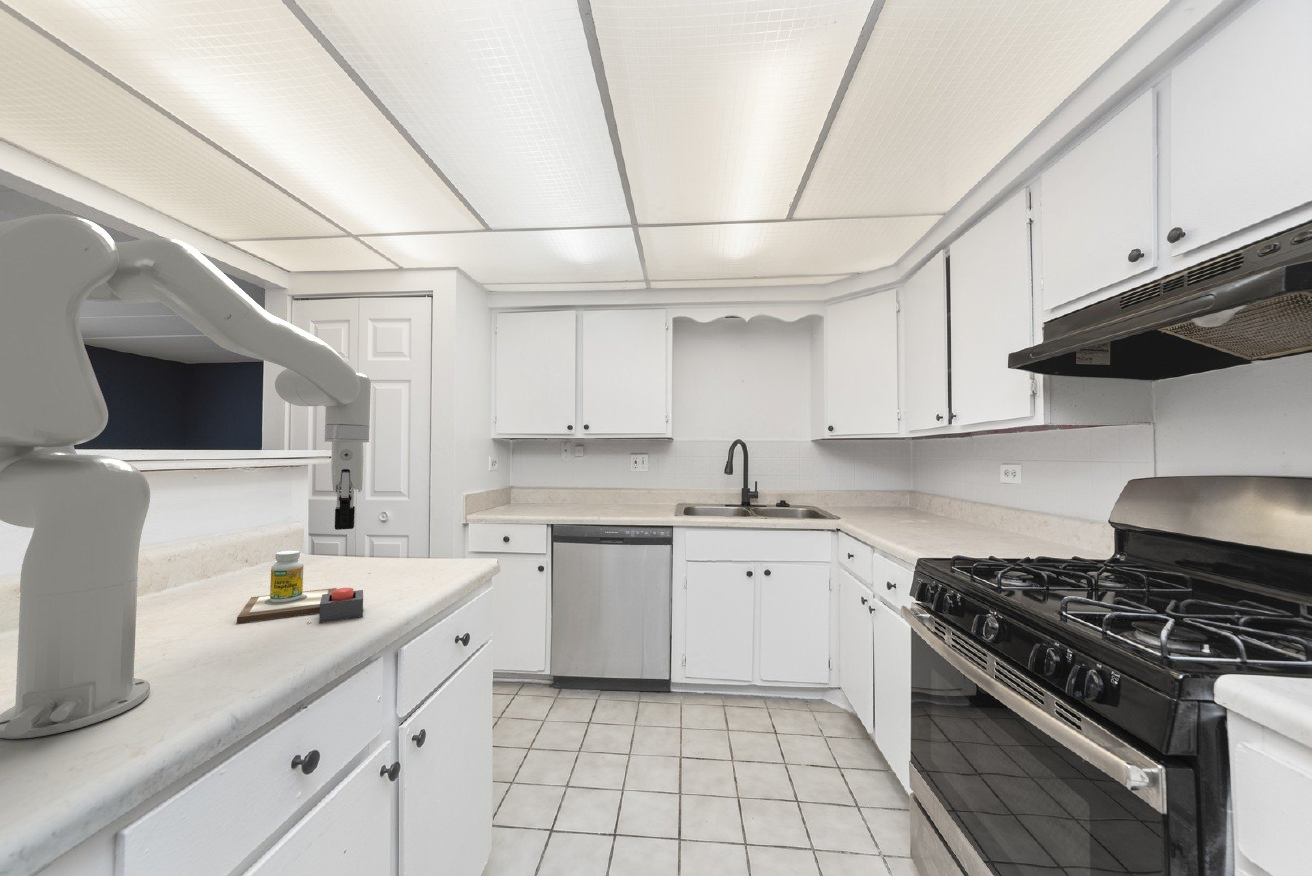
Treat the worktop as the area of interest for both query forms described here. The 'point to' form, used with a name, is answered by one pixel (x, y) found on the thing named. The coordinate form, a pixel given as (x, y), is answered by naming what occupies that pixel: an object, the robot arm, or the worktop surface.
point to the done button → (342, 594)
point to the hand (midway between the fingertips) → (344, 527)
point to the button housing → (341, 607)
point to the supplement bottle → (286, 577)
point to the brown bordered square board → (281, 607)
